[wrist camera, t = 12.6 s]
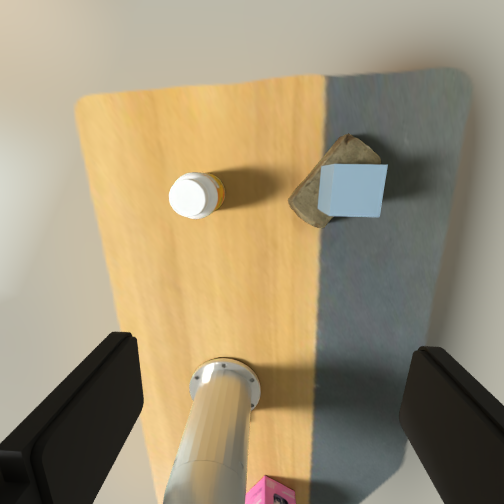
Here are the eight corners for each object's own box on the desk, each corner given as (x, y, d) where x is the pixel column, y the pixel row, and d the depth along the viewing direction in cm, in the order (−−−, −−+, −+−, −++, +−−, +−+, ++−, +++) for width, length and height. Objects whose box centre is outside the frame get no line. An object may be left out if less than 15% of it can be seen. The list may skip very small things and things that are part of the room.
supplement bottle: (208, 219, 37) (190, 233, 28) (180, 193, 37) (151, 198, 27) (233, 192, 36) (222, 198, 27) (205, 164, 35) (184, 160, 26)
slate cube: (358, 209, 31) (379, 217, 26) (317, 208, 32) (329, 215, 26) (364, 166, 30) (387, 164, 24) (321, 166, 30) (334, 163, 24)
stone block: (371, 161, 34) (388, 160, 30) (313, 227, 37) (320, 235, 33) (339, 133, 34) (351, 126, 29) (283, 203, 37) (285, 207, 32)
